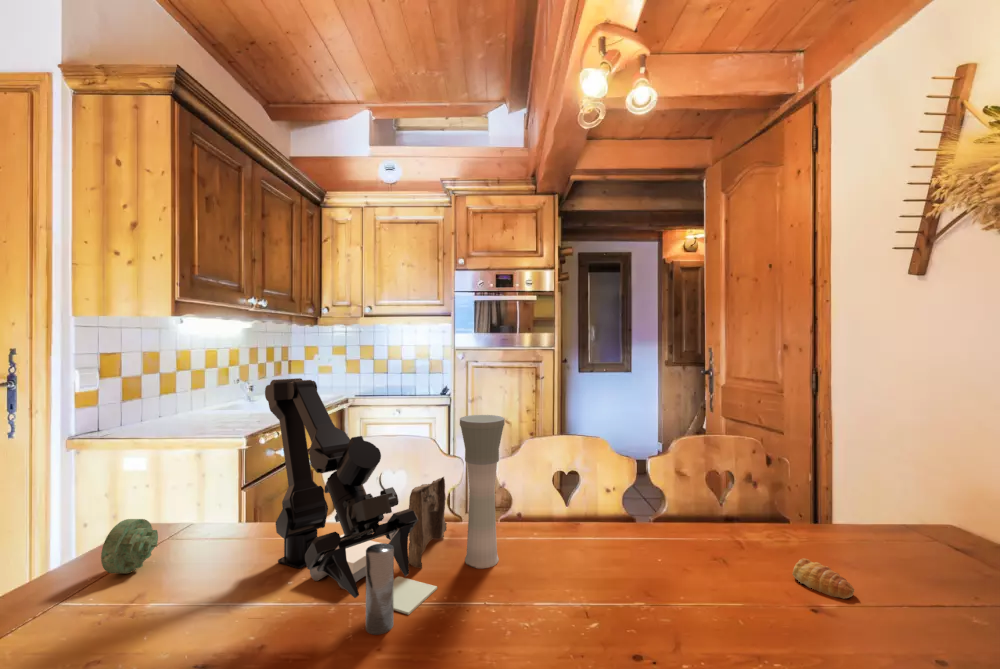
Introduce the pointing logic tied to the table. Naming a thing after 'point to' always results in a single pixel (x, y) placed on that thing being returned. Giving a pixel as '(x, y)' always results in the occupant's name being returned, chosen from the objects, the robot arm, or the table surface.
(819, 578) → the pastry
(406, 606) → the mat
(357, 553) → the slab on rollers
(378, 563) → the silver metal cylinder
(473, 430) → the container
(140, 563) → the decorative artifact
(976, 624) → the table surface
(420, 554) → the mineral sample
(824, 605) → the table surface
